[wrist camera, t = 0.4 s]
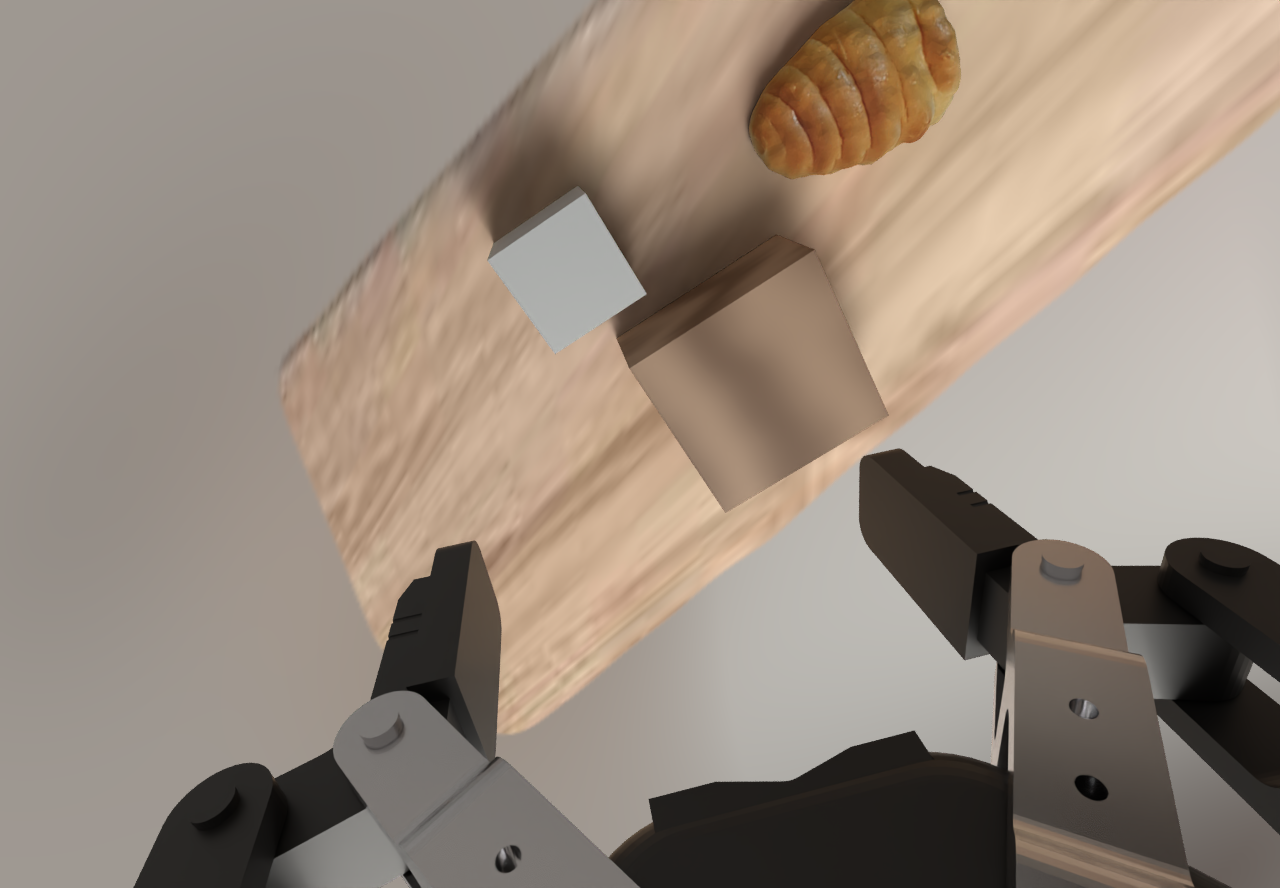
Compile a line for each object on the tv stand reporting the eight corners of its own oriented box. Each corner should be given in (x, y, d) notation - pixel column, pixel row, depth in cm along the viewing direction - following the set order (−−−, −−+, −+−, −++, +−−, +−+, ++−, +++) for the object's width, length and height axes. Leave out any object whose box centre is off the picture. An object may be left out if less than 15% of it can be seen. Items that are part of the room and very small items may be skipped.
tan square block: (776, 234, 33) (814, 249, 28) (846, 382, 37) (888, 415, 33) (616, 338, 34) (629, 368, 30) (703, 469, 38) (725, 513, 34)
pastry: (776, 212, 33) (804, 220, 29) (720, 82, 30) (744, 74, 26) (939, 113, 32) (987, 110, 28) (898, -32, 29) (947, -55, 25)
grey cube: (577, 185, 30) (585, 193, 26) (631, 273, 33) (646, 294, 28) (493, 242, 31) (487, 260, 27) (551, 325, 33) (555, 354, 29)
